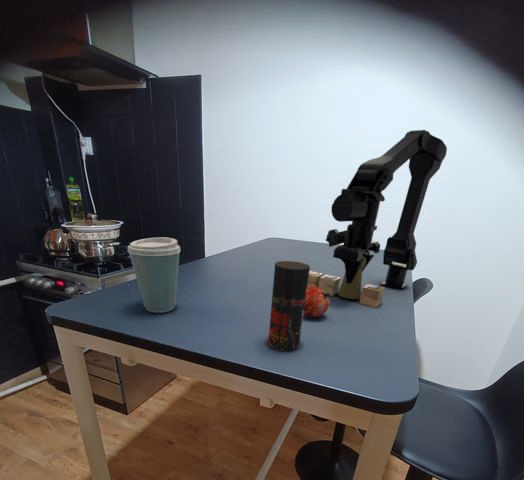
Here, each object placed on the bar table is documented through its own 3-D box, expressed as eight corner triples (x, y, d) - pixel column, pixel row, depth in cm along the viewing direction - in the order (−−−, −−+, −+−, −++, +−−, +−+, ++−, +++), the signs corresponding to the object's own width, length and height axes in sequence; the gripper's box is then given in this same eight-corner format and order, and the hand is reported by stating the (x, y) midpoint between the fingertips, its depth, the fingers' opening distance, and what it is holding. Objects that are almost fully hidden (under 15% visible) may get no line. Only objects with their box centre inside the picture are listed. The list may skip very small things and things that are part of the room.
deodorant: (266, 336, 63) (273, 260, 56) (296, 337, 64) (305, 262, 57) (269, 350, 58) (277, 268, 51) (301, 351, 58) (313, 270, 51)
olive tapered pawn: (361, 299, 85) (370, 258, 80) (338, 297, 86) (345, 256, 81) (359, 293, 91) (367, 254, 86) (338, 290, 92) (345, 251, 86)
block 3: (364, 299, 89) (368, 283, 86) (380, 303, 86) (385, 286, 84) (359, 303, 85) (363, 286, 83) (375, 307, 83) (380, 290, 81)
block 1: (307, 285, 97) (309, 270, 95) (321, 288, 95) (323, 273, 93) (300, 288, 94) (302, 272, 92) (314, 291, 92) (316, 275, 89)
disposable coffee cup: (151, 320, 66) (143, 246, 59) (125, 306, 72) (116, 237, 65) (192, 309, 73) (190, 242, 66) (166, 297, 79) (161, 234, 72)
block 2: (324, 289, 95) (326, 273, 92) (338, 292, 92) (341, 277, 90) (317, 292, 91) (320, 276, 89) (331, 296, 89) (334, 279, 87)
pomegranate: (290, 325, 74) (322, 311, 67) (282, 296, 75) (312, 278, 67) (311, 322, 79) (343, 308, 72) (303, 294, 80) (333, 278, 72)
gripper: (347, 215, 90) (337, 270, 98) (318, 218, 76) (310, 282, 84) (386, 220, 85) (373, 277, 92) (363, 224, 71) (350, 291, 78)
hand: (351, 281), depth 87 cm, fingers closed on olive tapered pawn, 4 cm apart
